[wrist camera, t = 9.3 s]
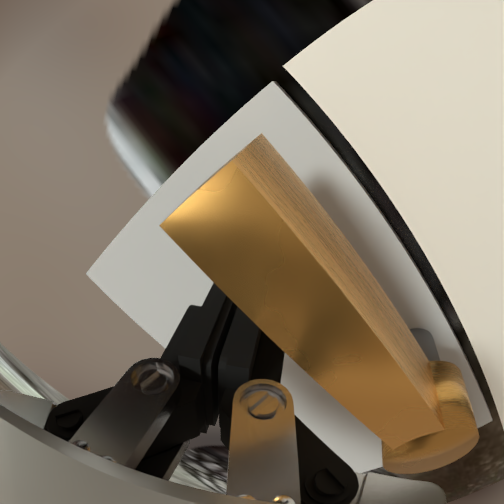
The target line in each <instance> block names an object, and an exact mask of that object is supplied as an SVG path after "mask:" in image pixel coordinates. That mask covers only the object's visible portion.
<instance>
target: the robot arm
mask: <svg viewBox="0 0 504 504" xmlns="http://www.w3.org/2000/svg"><path fill="white" fill-rule="evenodd" d="M284 354H285V352H284V351H283V350H282V349H281V348H280V347H279V346H278V345H277V344H276V343H274V342H273V341H272V340H271V339H270V338H269V337H268V336H267V335H266V334H265V333H264V332H263V331H262V330H261V329H260V328H259V327H258V326H257V325H256V324H255V323H254V322H253V321H252V320H251V319H250V318H249V317H248V316H247V315H246V314H245V313H244V312H243V311H242V310H241V309H240V308H239V307H238V306H237V305H236V304H235V303H234V302H233V301H232V300H231V299H230V298H229V297H228V296H227V295H226V294H225V293H224V292H223V291H222V290H221V289H220V288H219V287H218V286H217V285H216V284H215V283H213V285H212V287H211V289H210V291H209V293H208V295H207V297H206V299H205V301H204V303H203V305H202V306H196V305H190V306H189V307H188V308H187V310H186V312H185V314H184V316H183V318H182V319H181V321H180V323H179V325H178V327H177V329H176V330H175V332H174V334H173V336H172V338H171V340H170V342H169V343H168V345H167V347H166V349H165V351H164V353H163V355H162V356H161V358H148V359H143V360H140V361H138V362H136V363H135V364H133V366H131V367H130V368H129V369H128V371H126V373H125V374H124V375H123V376H122V377H121V379H120V380H119V381H118V382H117V383H116V385H115V386H114V387H110V388H108V389H104V390H101V391H98V392H95V393H92V394H89V395H86V396H82V397H79V398H76V399H72V400H69V401H65V402H63V403H61V404H58V405H56V404H55V403H54V401H51V400H46V399H42V398H37V397H33V396H29V395H25V394H21V393H17V392H13V391H10V390H1V391H0V504H446V495H445V493H444V491H443V489H442V488H440V487H439V486H438V485H437V484H434V483H430V482H424V481H417V480H410V479H403V478H397V477H392V476H386V475H381V474H376V473H371V472H368V473H367V474H361V473H357V472H354V471H353V469H352V468H351V467H350V466H349V465H348V464H347V463H346V462H345V461H343V460H342V459H341V458H340V457H339V456H338V455H337V454H336V453H335V452H334V451H332V450H331V449H330V448H329V447H328V446H327V445H326V444H325V443H324V442H323V441H322V440H321V439H320V438H318V437H317V436H316V435H315V434H314V433H313V432H312V431H311V430H310V429H309V428H308V427H307V426H306V425H305V424H304V423H303V422H302V421H301V420H300V419H299V418H298V417H297V416H296V415H295V414H294V403H293V399H292V395H291V393H290V392H289V391H288V389H287V388H286V387H284V386H283V385H282V384H280V383H281V376H282V369H283V362H284ZM218 415H219V425H220V428H221V441H222V442H223V444H224V445H225V446H226V447H227V449H228V450H229V462H228V476H227V490H226V495H224V494H219V493H214V492H210V491H205V490H201V489H197V488H193V487H189V486H185V485H181V484H178V483H174V482H171V481H169V479H170V477H171V476H172V474H173V472H174V470H175V469H176V467H177V465H178V464H179V462H180V460H181V458H182V457H183V455H184V453H185V451H186V450H187V448H188V446H189V443H190V439H193V438H195V437H197V436H199V435H200V432H202V433H207V429H208V427H209V425H213V426H215V424H216V421H217V418H218Z"/></svg>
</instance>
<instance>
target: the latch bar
mask: <svg viewBox="0 0 504 504" xmlns="http://www.w3.org/2000/svg"><path fill="white" fill-rule="evenodd" d="M159 226H160V227H161V228H162V229H163V230H164V231H165V232H166V233H167V234H168V235H169V236H170V238H171V239H172V240H173V241H174V242H175V243H176V244H177V245H178V246H179V247H180V248H181V249H182V250H183V251H184V252H185V253H186V254H187V255H188V256H189V258H190V259H191V260H192V261H193V262H194V263H195V264H196V265H197V266H198V267H199V268H200V269H201V270H202V271H203V272H204V273H205V274H206V275H207V276H208V277H209V278H210V279H211V280H212V281H213V282H214V283H215V284H216V285H217V286H218V287H219V288H220V289H221V290H222V291H223V292H224V293H225V294H226V295H227V296H228V297H229V298H230V299H231V300H232V301H233V302H234V303H235V304H236V305H237V306H238V307H239V308H240V309H241V310H242V311H243V312H244V313H245V314H246V315H247V316H248V317H249V318H250V319H251V320H252V321H253V322H254V323H255V324H256V325H257V326H258V327H259V328H260V329H261V330H262V331H263V332H264V333H265V334H266V335H267V336H268V337H269V338H270V339H271V340H272V341H273V342H274V343H276V344H277V345H278V346H279V347H280V348H281V349H282V350H283V351H284V352H285V353H286V354H287V355H288V356H289V357H290V358H291V359H292V360H293V361H294V362H296V363H297V364H298V365H299V366H300V367H301V368H302V369H303V370H304V371H305V372H306V373H307V374H308V375H309V376H311V377H312V378H313V379H314V380H315V381H316V382H317V383H318V384H319V385H320V386H321V387H322V388H324V389H325V390H326V391H327V392H328V393H329V394H330V395H331V396H332V397H333V398H335V399H336V400H337V401H338V402H339V403H340V404H341V405H342V406H344V407H345V408H346V409H347V410H348V411H349V412H350V413H351V414H352V415H354V416H355V417H356V418H357V419H358V420H359V421H360V422H362V423H363V424H364V425H365V426H366V427H367V428H368V429H370V430H371V431H372V432H373V433H374V434H375V435H377V436H378V437H379V438H380V439H381V443H382V464H383V467H384V468H385V469H386V470H387V471H389V472H392V473H398V474H414V473H421V472H426V471H430V470H434V469H437V468H440V467H443V466H445V465H448V464H450V463H452V462H454V461H456V460H458V459H460V458H461V457H463V456H464V455H466V454H467V453H468V452H469V451H471V450H472V449H473V448H474V446H475V445H476V444H477V442H478V440H479V433H478V429H477V425H476V421H475V417H474V413H473V410H472V406H471V403H470V399H469V396H468V392H467V389H466V386H465V383H464V379H463V376H462V373H461V370H460V369H459V368H458V367H457V366H456V365H455V364H453V363H451V362H447V361H429V360H428V358H427V357H426V355H425V354H424V352H423V350H422V349H421V347H420V345H419V344H418V342H417V341H416V339H415V338H414V336H413V334H412V333H411V331H410V330H409V328H408V327H407V325H406V323H405V322H404V320H403V319H402V317H401V316H400V314H399V313H398V311H397V310H396V308H395V307H394V305H393V304H392V302H391V301H390V299H389V298H388V296H387V295H386V293H385V292H384V290H383V289H382V288H381V286H380V285H379V283H378V282H377V280H376V279H375V277H374V276H373V275H372V273H371V272H370V270H369V269H368V267H367V266H366V265H365V263H364V262H363V260H362V259H361V258H360V256H359V255H358V254H357V252H356V251H355V249H354V248H353V247H352V245H351V244H350V243H349V241H348V240H347V239H346V237H345V236H344V235H343V233H342V232H341V231H340V229H339V228H338V227H337V225H336V224H335V223H334V221H333V220H332V219H331V217H330V216H329V215H328V213H327V212H326V211H325V210H324V208H323V207H322V206H321V204H320V203H319V202H318V201H317V199H316V198H315V197H314V195H313V194H312V193H311V192H310V190H309V189H308V188H307V187H306V185H305V184H304V183H303V182H302V181H301V179H300V178H299V177H298V176H297V174H296V173H295V172H294V171H293V169H292V168H291V167H290V166H289V165H288V163H287V162H286V161H285V160H284V159H283V157H282V156H281V155H280V154H279V153H278V152H277V150H276V149H275V148H274V147H273V146H272V144H271V143H270V142H269V141H268V140H267V139H266V138H265V136H264V135H263V134H262V133H261V134H260V135H259V136H257V137H256V138H255V139H254V140H252V141H251V142H250V143H249V144H248V145H246V146H245V147H244V148H243V149H242V150H240V151H239V152H238V153H237V154H236V155H234V156H233V157H232V158H231V159H230V160H229V161H227V162H226V163H225V164H224V165H223V166H222V167H220V168H219V169H218V170H217V171H216V172H215V173H214V174H212V175H211V176H210V177H209V178H208V179H207V180H206V181H205V182H204V183H203V184H202V185H200V186H199V187H198V188H197V189H196V190H195V191H194V192H193V193H192V194H191V195H190V196H189V197H188V198H187V199H186V200H185V201H184V202H183V203H182V204H181V205H180V206H178V207H177V208H176V209H175V210H174V211H173V212H172V213H171V214H170V215H169V216H168V217H167V218H166V219H165V220H164V221H163V222H162V223H161V224H160V225H159Z"/></svg>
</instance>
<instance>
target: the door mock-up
mask: <svg viewBox="0 0 504 504" xmlns="http://www.w3.org/2000/svg"><path fill="white" fill-rule="evenodd" d="M283 67H284V68H285V69H286V70H287V71H288V72H289V73H290V74H291V75H292V76H293V77H294V78H295V79H296V80H297V82H298V83H299V84H300V85H301V86H302V87H303V88H304V89H305V90H306V91H307V93H308V94H309V95H310V96H311V97H312V98H313V99H314V101H315V102H316V103H317V104H318V105H319V106H320V107H321V109H322V110H323V111H324V112H325V113H326V115H327V116H328V117H329V118H330V119H331V121H332V122H333V123H334V124H335V125H336V127H337V128H338V129H339V130H340V132H341V133H342V134H343V135H344V137H345V138H346V139H347V140H348V142H349V143H350V144H351V146H352V147H353V148H354V149H355V151H356V152H357V153H358V155H359V156H360V157H361V159H362V160H363V161H364V163H365V164H366V165H367V167H368V168H369V170H370V171H371V172H372V174H373V175H374V176H375V178H376V179H377V181H378V182H379V184H380V185H381V186H382V188H383V189H384V191H385V192H386V194H387V195H388V197H389V198H390V199H391V201H392V202H393V204H394V205H395V207H396V208H397V210H398V211H399V213H400V215H401V216H402V218H403V219H404V221H405V222H406V224H407V225H408V227H409V229H410V230H411V232H412V233H413V235H414V237H415V238H416V240H417V242H418V243H419V245H420V247H421V248H422V250H423V252H424V253H425V255H426V257H427V259H428V260H429V262H430V264H431V266H432V267H433V269H434V271H435V273H436V274H437V276H438V278H439V280H440V282H441V284H442V285H443V287H444V289H445V291H446V293H447V295H448V297H449V299H450V301H451V303H452V305H453V307H454V309H455V311H456V313H457V315H458V317H459V319H460V321H461V323H462V325H463V327H464V329H465V331H466V334H467V336H468V338H469V340H470V342H471V345H472V347H473V349H474V351H475V354H476V356H477V358H478V361H479V363H480V366H481V368H482V370H483V373H484V375H485V378H486V381H487V383H488V386H489V388H490V391H491V394H492V396H493V399H494V402H495V405H496V408H497V411H498V414H499V417H500V420H501V423H502V426H503V429H504V0H373V1H372V2H370V3H368V4H367V5H365V6H364V7H362V8H361V9H359V10H358V11H356V12H355V13H353V14H352V15H350V16H349V17H348V18H346V19H345V20H343V21H342V22H340V23H339V24H338V25H336V26H335V27H333V28H332V29H331V30H329V31H328V32H326V33H325V34H324V35H322V36H321V37H320V38H318V39H317V40H316V41H314V42H313V43H312V44H310V45H309V46H308V47H306V48H305V49H304V50H302V51H301V52H300V53H299V54H297V55H296V56H295V57H294V58H292V59H291V60H290V61H289V62H287V63H286V64H285V65H284V66H283ZM261 133H262V134H263V135H264V136H265V138H266V139H267V140H268V141H269V142H270V143H271V144H272V146H273V147H274V148H275V149H276V150H277V152H278V153H279V154H280V155H281V156H282V157H283V159H284V160H285V161H286V162H287V163H288V165H289V166H290V167H291V168H292V169H293V171H294V172H295V173H296V174H297V176H298V177H299V178H300V179H301V181H302V182H303V183H304V184H305V185H306V187H307V188H308V189H309V190H310V192H311V193H312V194H313V195H314V197H315V198H316V199H317V201H318V202H319V203H320V204H321V206H322V207H323V208H324V210H325V211H326V212H327V213H328V215H329V216H330V217H331V219H332V220H333V221H334V223H335V224H336V225H337V227H338V228H339V229H340V231H341V232H342V233H343V235H344V236H345V237H346V239H347V240H348V241H349V243H350V244H351V245H352V247H353V248H354V249H355V251H356V252H357V254H358V255H359V256H360V258H361V259H362V260H363V262H364V263H365V265H366V266H367V267H368V269H369V270H370V272H371V273H372V275H373V276H374V277H375V279H376V280H377V282H378V283H379V285H380V286H381V288H382V289H383V290H384V292H385V293H386V295H387V296H388V298H389V299H390V301H391V302H392V304H393V305H394V307H395V308H396V310H397V311H398V313H399V314H400V316H401V317H402V319H403V320H404V322H405V323H406V325H407V327H408V328H409V330H410V331H411V333H412V334H413V336H414V338H415V339H416V341H417V342H418V344H419V345H420V347H421V349H422V350H423V352H424V354H425V355H426V357H427V358H428V360H429V361H447V362H451V363H453V364H455V365H456V366H457V367H458V368H459V369H460V370H461V373H462V376H463V379H464V383H465V386H466V389H467V392H468V396H469V399H470V403H471V406H472V410H473V413H474V417H475V421H476V425H477V428H479V427H481V426H483V425H485V424H487V423H489V422H491V421H493V420H492V417H491V413H490V410H489V407H488V405H487V402H486V400H485V397H484V395H483V393H482V390H481V388H480V386H479V383H478V381H477V379H476V377H475V374H474V372H473V370H472V368H471V366H470V363H469V361H468V359H467V357H466V355H465V353H464V351H463V349H462V347H461V345H460V343H459V341H458V339H457V337H456V335H455V333H454V331H453V329H452V327H451V325H450V323H449V321H448V319H447V317H446V316H445V314H444V312H443V310H442V308H441V306H440V305H439V303H438V301H437V299H436V297H435V296H434V294H433V292H432V290H431V289H430V287H429V285H428V284H427V282H426V280H425V278H424V277H423V275H422V273H421V272H420V270H419V268H418V267H417V265H416V264H415V262H414V260H413V259H412V257H411V255H410V254H409V252H408V251H407V249H406V248H405V246H404V244H403V243H402V241H401V240H400V238H399V237H398V235H397V234H396V232H395V231H394V229H393V228H392V226H391V225H390V223H389V222H388V220H387V219H386V217H385V216H384V214H383V213H382V212H381V210H380V209H379V207H378V206H377V204H376V203H375V202H374V200H373V199H372V197H371V196H370V195H369V193H368V192H367V190H366V189H365V188H364V186H363V185H362V184H361V182H360V181H359V180H358V178H357V177H356V176H355V174H354V173H353V172H352V170H351V169H350V168H349V166H348V165H347V164H346V163H345V161H344V160H343V159H342V157H341V156H340V155H339V154H338V152H337V151H336V150H335V149H334V147H333V146H332V145H331V144H330V142H329V141H328V140H327V139H326V138H325V136H324V135H323V134H322V133H321V132H320V130H319V129H318V128H317V127H316V126H315V124H314V123H313V122H312V121H311V120H310V119H309V117H308V116H307V115H306V114H305V113H304V112H303V111H302V109H301V108H300V107H299V106H298V105H297V104H296V103H295V102H294V100H293V99H292V98H291V97H290V96H289V95H288V94H287V93H286V92H285V91H284V89H283V88H282V87H281V86H280V85H279V84H278V83H277V82H275V81H272V82H271V83H270V84H269V85H268V86H266V87H265V88H264V89H263V90H262V91H260V92H259V93H258V94H257V95H256V96H255V97H254V98H252V99H251V100H250V101H249V102H248V103H247V104H246V105H244V106H243V107H242V108H241V109H240V110H239V111H238V112H237V113H235V114H234V115H233V116H232V117H231V118H230V119H229V120H228V121H227V122H226V123H225V124H223V125H222V126H221V127H220V128H219V129H218V130H217V131H216V132H215V133H214V134H213V135H212V136H211V137H210V138H209V139H208V140H207V141H206V142H204V143H203V144H202V145H201V146H200V147H199V148H198V149H197V150H196V151H195V152H194V153H193V154H192V155H191V156H190V157H189V158H188V159H187V160H186V161H185V162H184V163H183V164H182V165H181V166H180V167H179V168H178V169H177V170H176V171H175V172H174V173H173V174H172V176H171V177H170V178H169V179H168V180H167V181H166V182H165V183H164V184H163V185H162V186H161V187H160V188H159V189H158V190H157V191H156V192H155V194H154V195H153V196H152V197H151V198H150V199H149V200H148V201H147V202H146V203H145V204H144V206H143V207H142V208H141V209H140V210H139V211H138V212H137V213H136V215H135V216H134V217H133V218H132V219H131V220H130V221H129V223H128V224H127V225H126V226H125V227H124V228H123V230H122V231H121V232H120V233H119V234H118V235H117V236H116V237H115V239H114V240H113V241H112V242H111V243H110V245H109V246H108V247H107V248H106V249H105V251H104V252H103V253H102V255H101V256H100V257H99V258H98V259H97V261H96V262H95V263H94V264H93V266H92V267H91V268H90V269H89V271H88V272H87V273H86V274H87V275H88V276H89V277H90V278H91V279H92V280H93V281H94V283H96V285H97V286H98V287H99V288H101V290H102V291H104V293H105V294H107V295H108V296H109V297H110V298H111V299H112V300H113V301H114V302H115V303H116V304H117V305H118V306H119V307H120V308H121V309H122V310H123V311H124V312H125V313H126V314H127V315H128V316H130V317H131V318H132V319H133V320H134V321H135V322H136V323H137V324H138V325H139V326H140V327H142V328H143V329H144V330H145V331H146V332H147V333H148V334H149V335H151V336H152V337H153V338H154V339H155V340H156V341H157V342H159V343H160V344H161V345H162V346H163V347H164V348H166V347H167V345H168V343H169V342H170V340H171V338H172V336H173V334H174V332H175V330H176V329H177V327H178V325H179V323H180V321H181V319H182V318H183V316H184V314H185V312H186V310H187V308H188V307H189V306H190V305H196V306H202V305H203V303H204V301H205V299H206V297H207V295H208V293H209V291H210V289H211V287H212V285H213V283H214V282H213V281H212V280H211V279H210V278H209V277H208V276H207V275H206V274H205V273H204V272H203V271H202V270H201V269H200V268H199V267H198V266H197V265H196V264H195V263H194V262H193V261H192V260H191V259H190V258H189V256H188V255H187V254H186V253H185V252H184V251H183V250H182V249H181V248H180V247H179V246H178V245H177V244H176V243H175V242H174V241H173V240H172V239H171V238H170V236H169V235H168V234H167V233H166V232H165V231H164V230H163V229H162V228H161V227H160V226H159V225H160V224H161V223H162V222H163V221H164V220H165V219H166V218H167V217H168V216H169V215H170V214H171V213H172V212H173V211H174V210H175V209H176V208H177V207H178V206H180V205H181V204H182V203H183V202H184V201H185V200H186V199H187V198H188V197H189V196H190V195H191V194H192V193H193V192H194V191H195V190H196V189H197V188H198V187H199V186H200V185H202V184H203V183H204V182H205V181H206V180H207V179H208V178H209V177H210V176H211V175H212V174H214V173H215V172H216V171H217V170H218V169H219V168H220V167H222V166H223V165H224V164H225V163H226V162H227V161H229V160H230V159H231V158H232V157H233V156H234V155H236V154H237V153H238V152H239V151H240V150H242V149H243V148H244V147H245V146H246V145H248V144H249V143H250V142H251V141H252V140H254V139H255V138H256V137H257V136H259V135H260V134H261ZM280 384H282V385H283V386H284V387H286V388H287V389H288V391H289V392H290V393H291V395H292V399H293V403H294V414H295V415H296V416H297V417H298V418H299V419H300V420H301V421H302V422H303V423H304V424H305V425H306V426H307V427H308V428H309V429H310V430H311V431H312V432H313V433H314V434H315V435H316V436H317V437H318V438H320V439H321V440H322V441H323V442H324V443H325V444H326V445H327V446H328V447H329V448H330V449H331V450H332V451H334V452H335V453H336V454H337V455H338V456H339V457H340V458H341V459H342V460H343V461H345V462H346V463H347V464H348V465H349V466H350V467H351V468H352V469H353V471H354V472H357V473H362V472H366V471H369V470H373V469H376V468H379V467H383V464H382V443H381V439H380V438H379V437H378V436H377V435H375V434H374V433H373V432H372V431H371V430H370V429H368V428H367V427H366V426H365V425H364V424H363V423H362V422H360V421H359V420H358V419H357V418H356V417H355V416H354V415H352V414H351V413H350V412H349V411H348V410H347V409H346V408H345V407H344V406H342V405H341V404H340V403H339V402H338V401H337V400H336V399H335V398H333V397H332V396H331V395H330V394H329V393H328V392H327V391H326V390H325V389H324V388H322V387H321V386H320V385H319V384H318V383H317V382H316V381H315V380H314V379H313V378H312V377H311V376H309V375H308V374H307V373H306V372H305V371H304V370H303V369H302V368H301V367H300V366H299V365H298V364H297V363H296V362H294V361H293V360H292V359H291V358H290V357H289V356H288V355H287V354H286V353H285V354H284V362H283V369H282V376H281V383H280Z"/></svg>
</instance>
